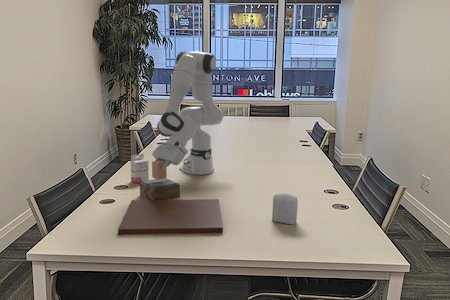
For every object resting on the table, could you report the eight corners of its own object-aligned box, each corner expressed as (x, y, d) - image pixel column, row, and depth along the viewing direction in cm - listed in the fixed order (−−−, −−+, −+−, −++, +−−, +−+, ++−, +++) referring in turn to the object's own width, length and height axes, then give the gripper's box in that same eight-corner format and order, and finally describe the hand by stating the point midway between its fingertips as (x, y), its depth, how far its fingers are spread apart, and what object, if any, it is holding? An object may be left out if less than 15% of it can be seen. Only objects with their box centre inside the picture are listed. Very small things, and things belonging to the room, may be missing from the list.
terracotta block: (152, 177, 199) (151, 161, 198) (161, 175, 203) (160, 159, 201) (157, 179, 196) (157, 163, 194) (166, 177, 199) (166, 161, 197)
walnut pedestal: (140, 195, 202) (139, 181, 200) (164, 189, 211) (163, 176, 209) (155, 202, 192) (154, 188, 190) (179, 196, 201) (179, 182, 199)
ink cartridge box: (135, 183, 220) (134, 157, 217) (130, 181, 224) (129, 155, 221) (149, 180, 226) (148, 154, 223) (144, 178, 230) (143, 153, 227)
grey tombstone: (297, 221, 171) (299, 193, 168) (295, 225, 167) (296, 196, 164) (273, 218, 175) (274, 190, 172) (270, 221, 171) (271, 193, 168)
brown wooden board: (222, 234, 159) (218, 205, 191) (222, 227, 158) (218, 199, 190) (118, 236, 157) (131, 206, 189) (117, 229, 156) (131, 200, 188)
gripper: (159, 138, 208) (143, 160, 203) (182, 144, 193) (165, 168, 188) (167, 145, 212) (151, 167, 207) (190, 152, 196) (173, 175, 192)
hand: (158, 167), depth 198 cm, fingers closed on terracotta block, 5 cm apart
